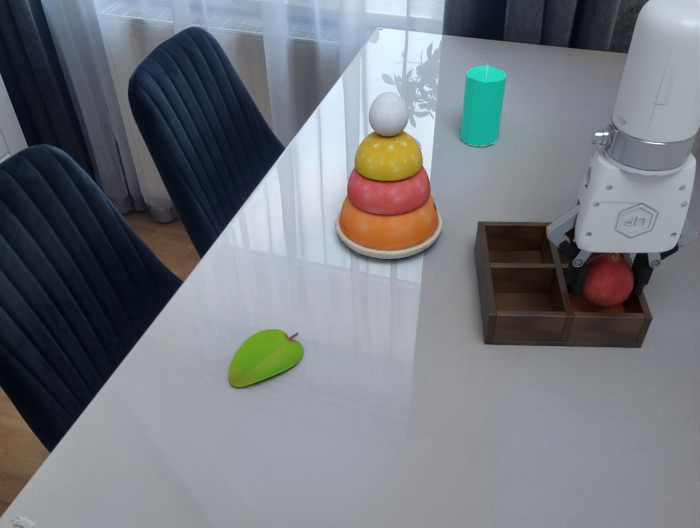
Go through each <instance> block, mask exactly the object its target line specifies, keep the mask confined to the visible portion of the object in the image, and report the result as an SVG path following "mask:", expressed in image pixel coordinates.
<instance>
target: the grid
mask: <svg viewBox="0 0 700 528" xmlns="http://www.w3.org/2000/svg"><path fill="white" fill-rule="evenodd" d="M553 222H554V221H489V220H488V221H482V220H481V221H479V220H478V221H477V227H476V234H475V241H474V242H475V243H474V249H473V250H474V258H475V270H476V277H477V278H476V279H477V286H478V297H479V305H480V315H481V323H482V334H483V342H484V345H495V346H539V347H540V346H541V347H542V346H544V347H545V346H548V347H549V346H550V347H585V348H586V347H591V348H592V347H595V348H631V349H632V348H633V349H634V348H635V349H636V348H637V349H639V348H640V349H641V348H642V346H643V344H644V341H645V339H646V337H647V334H648V332H649V329H650V326H651V323H652V321H653V314H652V312H651V309H650V307H649V304H648V301H647V298H646V295H645V293H644V290H643V291H642V294H641V296H635V295H633V292H632V291H631V293H630V295H629V297H628V298H627V299H626V300H625V301H624V302H623V303H621V304H619V305H617V306H615V307H610V308H597V307H596V306H593V305H592V304H590V303H588V302H587V301H586V300H585V299H584V298H583V296H582V295H581V294H579V295H573V292H572V288H571V284H567V282H566V272H567V268H568V264H569V259H568V258H567V257H566V256H565V255H564V254H563V253H562V252H561V251H560V249H559V248H558V247H557V246H555V245H554V244H553V243H552V242H551V241H550V240H549V239H548V238H547V235H546V231H545V229H546V227H547V226H549V225H550V224H551V223H553ZM565 235H567V236H569V237H570V238H571V239H572V240H574V238H575V227H574V228H572V229H571V230H569V231H568V232H566V233H565ZM600 254H602V253H596V252H593V253H592V254H591V255H590V256H589V258H588V259H587V260H586V263H587V262H588V261H589V260H590V259H592V258H594V257H596V256H598V255H600ZM630 254H631V253H620V256H621V257H622V258H624V259H625V260H626V261H627V262H628V264H629V265H630V267H631V268H632V265H633V262H634V261H633V260H632V258H631V255H630Z"/></svg>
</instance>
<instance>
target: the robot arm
mask: <svg viewBox="0 0 700 528" xmlns="http://www.w3.org/2000/svg"><path fill="white" fill-rule="evenodd" d="M699 129H700V0H648V1H647V2H646V3H644V5H643V6H642V8H641V9H640V11H639V13H638V15H637V19H636V21H635V25H634V29H633V33H632V36H631V40H630V44H629V48H628V52H627V56H626V60H625V64H624V68H623V72H622V76H621V79H620V84H619V87H618V92H617V95H616V98H615V102H614V107H613V111H612V115H611V116H609V117H608V121H607V123H606V125H605V127H601V128H594V129H593V130H592V132H591V144H592V145H598V146H597V148H596V150H595V152H594V153H593V155H592V157H591V159H590V161H589V163H588V166H587V168H586V170H585V173H584V175H583V177H582V180H581V183H580V186H579V189H578V191H577V195H576V198H575V201H574V205H573V207H572V208H571V209H570V210H569V211H566V212H565V213H564V214H562V215H561V216H560V217H559V218H557V219H555V220H554V221H552V222H553V223H551V224H550V225H549V226H547V227H546V229H545V231H546V235H547V238H548V239H549V240H550V241H551V242H552V243H553V244H554V245H555V246H557V247H558V248H559V249H560V251H561V252H562V253H563V254H564V255H565V256H566V257H567V258H568V259H569V264H568V268H567V272H566V282H567V284H571V288H572V292H573V295H579V294H581V291H582V287H583V283H584V280H585V276H586V273H587V266H586V260H587V259H588V258H589V256H590V255H591V254H592V253H593V252H596V253H629V254H635V256H634V259H633V261H632V262H633V265H632V268H631V269H632V271H633V276H634V286H633V289H632V292H633V295H635V296H641V294H642V291H643V292H644V288H645V286H648V285H649V283H650V280H651V278H652V275H653V272H654V269H656V268H658V267H660V266H661V265H662V261H664V260H665V259H667V258H668V257H670V256H672V255H674V254H675V253H677V252H678V251H679V250H680V248H683V247H685V246H686V245H689V244H690V243H692V242H694V241H695V240H697V239H698V238H699V233H698V231H697V229H696V226H695V225H694V224H693V223H692V222H691V221H690V219H689V218H688V217H687V215H688V211H689V207H690V203H691V199H692V193H693V189H694V184H695V178H696V169H697V159H696V157H695V156H694V155H693V153H692V149H693V146H694V144H695V142H696V141H695V140H696V138H697V135H698V132H699ZM574 227H575V238H574V240H572V239H571V238H570V237H569V236H567V235H565V233H566V232H568V231H569V230H571V229H572V228H574Z"/></svg>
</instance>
